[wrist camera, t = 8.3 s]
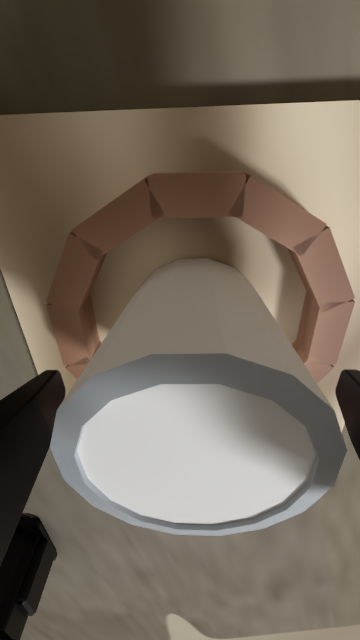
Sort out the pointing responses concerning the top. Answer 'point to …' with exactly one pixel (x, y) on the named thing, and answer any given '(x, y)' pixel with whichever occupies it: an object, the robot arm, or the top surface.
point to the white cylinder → (197, 412)
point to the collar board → (183, 220)
